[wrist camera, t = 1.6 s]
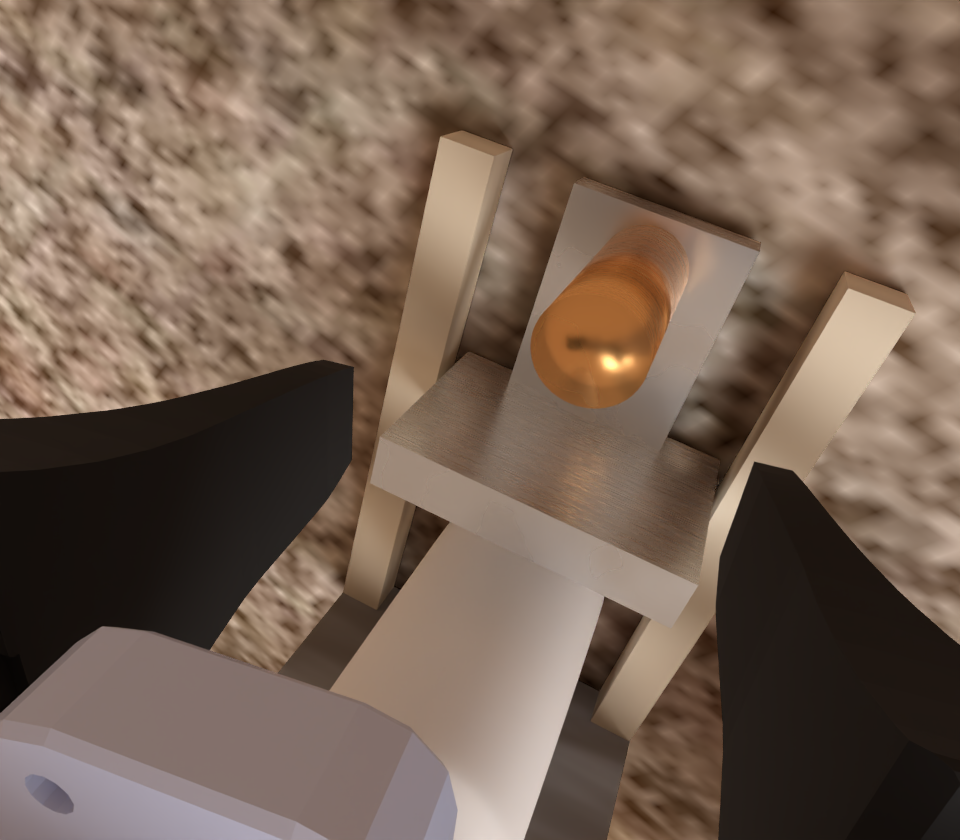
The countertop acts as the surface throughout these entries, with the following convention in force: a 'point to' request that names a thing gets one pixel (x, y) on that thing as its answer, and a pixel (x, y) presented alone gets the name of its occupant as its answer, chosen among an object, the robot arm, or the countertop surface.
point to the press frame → (773, 441)
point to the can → (480, 672)
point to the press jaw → (588, 408)
